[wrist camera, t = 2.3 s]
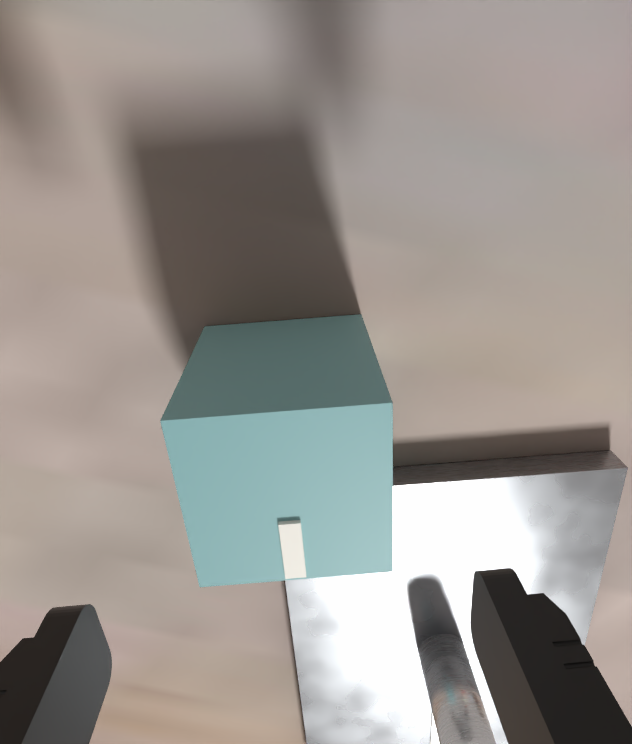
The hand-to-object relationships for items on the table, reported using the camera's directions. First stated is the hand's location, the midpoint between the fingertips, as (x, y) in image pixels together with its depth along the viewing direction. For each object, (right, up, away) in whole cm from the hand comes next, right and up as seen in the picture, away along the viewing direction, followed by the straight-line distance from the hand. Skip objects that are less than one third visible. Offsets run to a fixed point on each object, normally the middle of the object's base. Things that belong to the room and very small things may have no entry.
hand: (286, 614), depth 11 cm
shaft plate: (+7, -8, +15) cm, 18 cm away
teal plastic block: (0, +5, +8) cm, 10 cm away
